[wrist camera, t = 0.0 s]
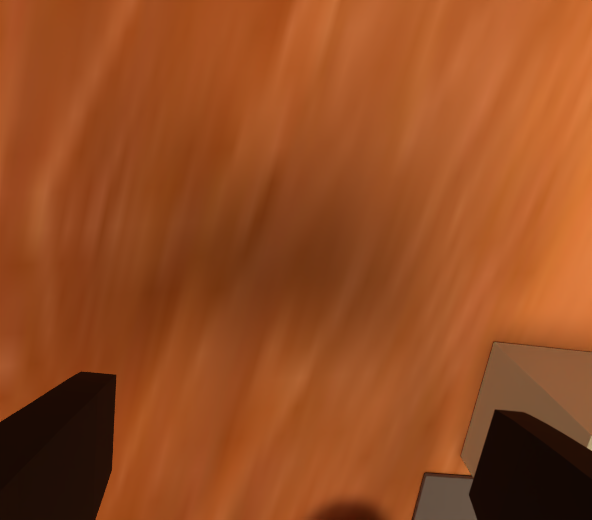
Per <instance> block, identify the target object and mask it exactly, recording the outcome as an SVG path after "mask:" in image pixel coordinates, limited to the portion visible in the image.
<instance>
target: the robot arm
mask: <svg viewBox="0 0 592 520" xmlns="http://www.w3.org/2000/svg"><path fill="white" fill-rule="evenodd" d="M115 391H116V375H113V374H102V373H91V372H80V373H78V374H76V375H74V376H73V377H71V378H69V379H68V380H66V381H64V382H63V383H61V384H60V385H58V386H57V387H55V388H53V389H52V390H50V391H49V392H47V393H46V394H44V395H43V396H41V397H39V398H38V399H36V400H35V401H33V402H32V403H30V404H28V405H27V406H25V407H24V408H22V409H20V410H19V411H17V412H16V413H14V414H12V415H11V416H9V417H8V418H6V419H4V420H3V421H1V422H0V520H95V519H96V516H97V513H98V510H99V507H100V504H101V501H102V498H103V495H104V492H105V489H106V486H107V483H108V480H109V477H110V474H111V471H112V455H113V434H114V413H115ZM469 497H470V500H471V503H472V506H473V509H474V512H475V515H476V518H477V520H592V451H591V450H590V449H588V448H587V447H585V446H583V445H582V444H580V443H578V442H577V441H575V440H574V439H572V438H570V437H569V436H567V435H565V434H564V433H562V432H560V431H559V430H557V429H555V428H553V427H552V426H550V425H548V424H546V423H545V422H543V421H541V420H539V419H537V418H535V417H533V416H531V415H529V414H527V413H525V412H519V411H508V410H497V409H495V410H494V414H493V417H492V420H491V423H490V427H489V430H488V433H487V436H486V440H485V443H484V446H483V449H482V453H481V456H480V459H479V462H478V466H477V469H476V472H475V475H474V479H473V482H472V485H471V488H470V492H469Z"/></svg>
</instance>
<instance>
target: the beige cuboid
mask: <svg viewBox="0 0 592 520" xmlns="http://www.w3.org/2000/svg"><path fill="white" fill-rule="evenodd" d="M495 409H497V410H508V411H519V412H525V413H527V414H529V415H531V416H533V417H535V418H537V419H539V420H541V421H543V422H545V423H546V424H548V425H550V426H552V427H553V428H555V429H557V430H559V431H560V432H562V433H564V434H565V435H567V436H569V437H570V438H572V439H574V440H575V441H577V442H578V443H580V444H582V445H583V446H585V447H587V448H588V449H590V450H591V451H592V352H585V351H575V350H566V349H556V348H547V347H537V346H528V345H519V344H509V343H500V342H494V343H493V347H492V350H491V353H490V357H489V360H488V364H487V367H486V371H485V374H484V377H483V381H482V384H481V388H480V391H479V395H478V398H477V402H476V405H475V408H474V412H473V415H472V419H471V422H470V426H469V429H468V433H467V436H466V439H465V443H464V446H463V450H462V453H461V458H462V460H463V461H464V463H465V465H466V466H467V468H468V470H469V472H470V473H471V475H472V477H473V478H474V475H475V472H476V469H477V466H478V462H479V459H480V456H481V453H482V449H483V446H484V443H485V440H486V436H487V433H488V430H489V427H490V423H491V420H492V417H493V414H494V410H495Z"/></svg>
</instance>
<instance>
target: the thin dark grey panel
mask: <svg viewBox="0 0 592 520" xmlns="http://www.w3.org/2000/svg"><path fill="white" fill-rule="evenodd" d="M473 479H474V478H473V477H472V476H461V475H447V474H433V473H425V474H424V477H423V481H422V485H421V489H420V492H419V496H418V500H417V503H416V507H415V511H414V515H413V518H412V520H477V518H476V515H475V512H474V509H473V506H472V503H471V500H470V497H469V492H470V488H471V485H472V482H473Z"/></svg>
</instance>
